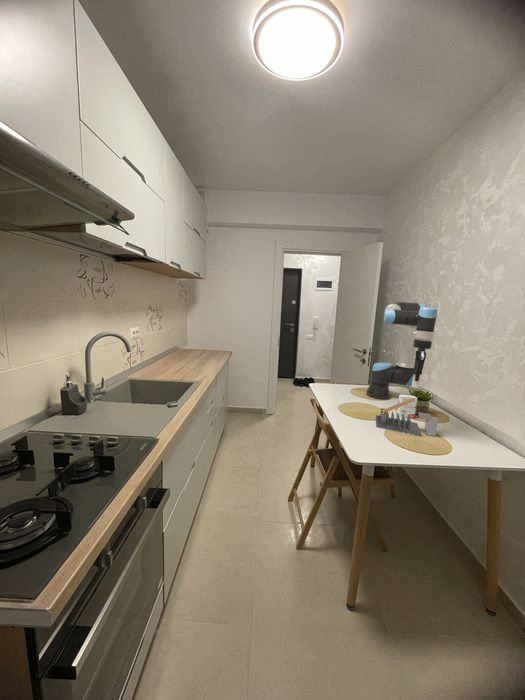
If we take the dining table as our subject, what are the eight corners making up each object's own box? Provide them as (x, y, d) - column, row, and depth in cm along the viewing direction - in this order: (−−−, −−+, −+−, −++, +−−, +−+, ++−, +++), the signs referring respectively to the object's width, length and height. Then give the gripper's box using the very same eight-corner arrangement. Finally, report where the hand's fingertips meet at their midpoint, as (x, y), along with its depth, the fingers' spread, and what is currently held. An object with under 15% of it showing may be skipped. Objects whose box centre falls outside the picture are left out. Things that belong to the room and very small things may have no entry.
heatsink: (375, 418, 154) (377, 406, 153) (416, 426, 147) (418, 414, 146) (376, 426, 143) (378, 413, 142) (420, 436, 136) (422, 422, 135)
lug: (415, 428, 144) (418, 411, 143) (433, 432, 142) (436, 415, 140) (416, 432, 140) (420, 415, 138) (435, 436, 137) (438, 418, 135)
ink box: (410, 414, 164) (414, 395, 162) (414, 418, 159) (418, 398, 157) (395, 413, 164) (398, 393, 162) (398, 416, 159) (402, 396, 157)
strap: (383, 411, 148) (381, 409, 148) (414, 399, 142) (412, 397, 142) (383, 414, 145) (381, 411, 145) (415, 402, 139) (413, 399, 139)
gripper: (412, 337, 143) (405, 382, 147) (416, 340, 131) (408, 388, 134) (429, 339, 140) (421, 385, 144) (434, 342, 128) (425, 391, 132)
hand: (414, 386), depth 139 cm, fingers closed
